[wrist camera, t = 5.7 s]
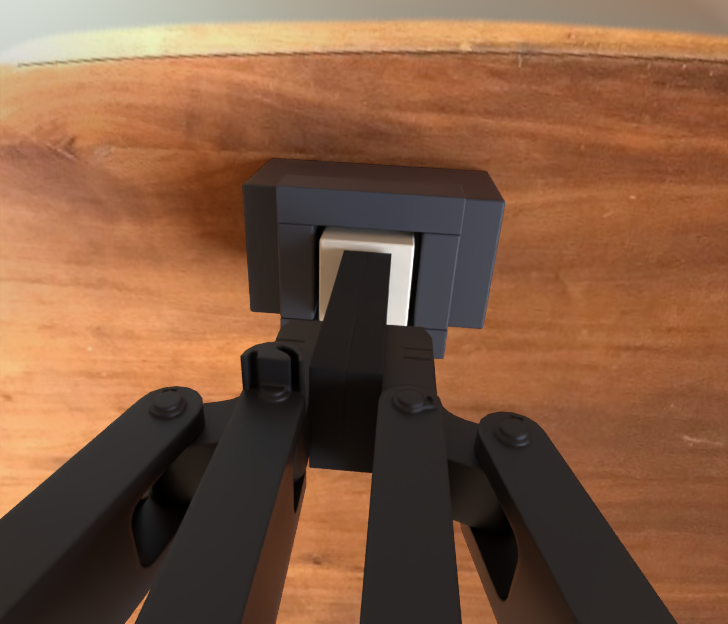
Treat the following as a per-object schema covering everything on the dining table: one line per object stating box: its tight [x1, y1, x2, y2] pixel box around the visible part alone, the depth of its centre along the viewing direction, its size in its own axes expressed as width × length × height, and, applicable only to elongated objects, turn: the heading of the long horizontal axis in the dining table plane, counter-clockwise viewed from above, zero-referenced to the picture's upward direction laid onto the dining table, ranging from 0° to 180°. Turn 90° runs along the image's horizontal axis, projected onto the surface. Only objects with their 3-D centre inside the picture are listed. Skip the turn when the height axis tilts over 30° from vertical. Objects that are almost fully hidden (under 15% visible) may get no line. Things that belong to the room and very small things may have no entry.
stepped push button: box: [242, 158, 505, 359], centre depth 20 cm, size 9×6×6 cm, turn 87°
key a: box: [319, 226, 415, 326], centre depth 18 cm, size 3×3×2 cm
